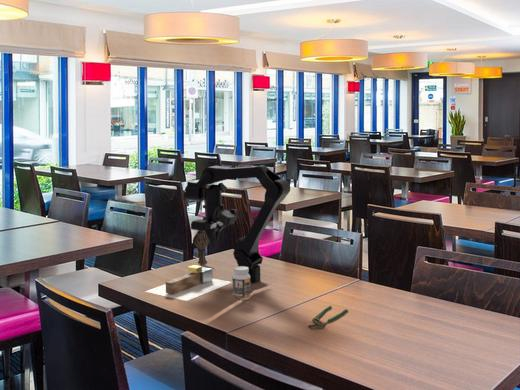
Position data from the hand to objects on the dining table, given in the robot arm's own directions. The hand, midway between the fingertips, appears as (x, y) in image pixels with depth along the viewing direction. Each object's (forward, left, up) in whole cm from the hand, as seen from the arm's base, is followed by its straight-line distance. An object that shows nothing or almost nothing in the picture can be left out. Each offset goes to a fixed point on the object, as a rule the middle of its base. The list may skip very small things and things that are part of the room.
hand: (214, 245), depth 216 cm
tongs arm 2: (-2, +18, -11) cm, 21 cm away
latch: (-1, +12, -7) cm, 14 cm away
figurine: (+16, -12, -12) cm, 23 cm away
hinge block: (-1, +8, -11) cm, 14 cm away
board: (-1, +15, -12) cm, 19 cm away
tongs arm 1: (0, +18, -11) cm, 21 cm away
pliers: (-52, +15, -13) cm, 56 cm away
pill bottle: (-21, +13, -12) cm, 27 cm away
